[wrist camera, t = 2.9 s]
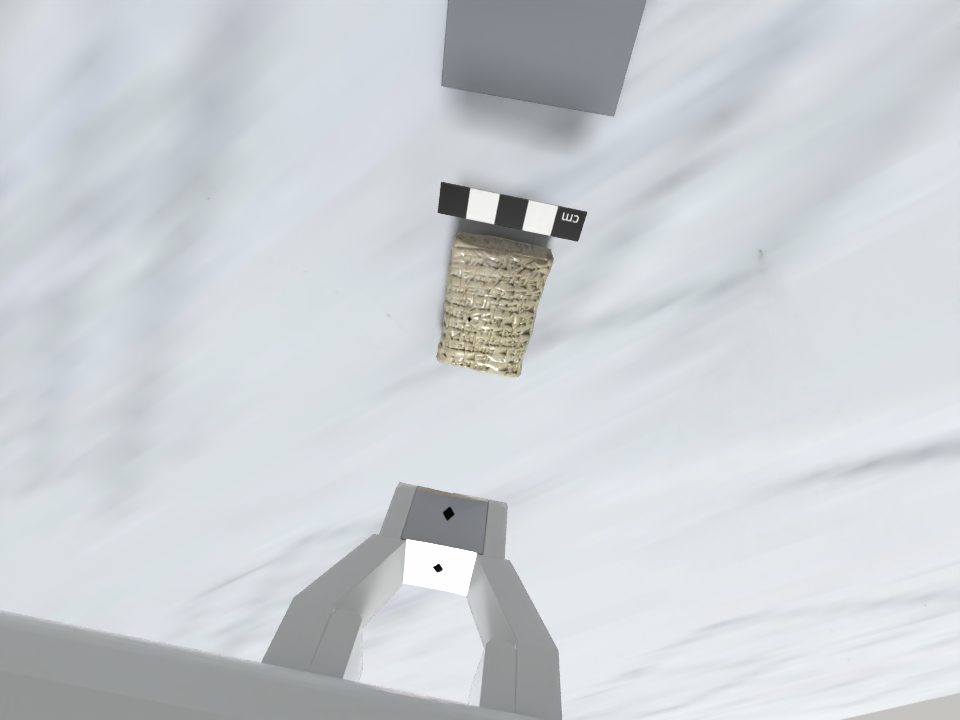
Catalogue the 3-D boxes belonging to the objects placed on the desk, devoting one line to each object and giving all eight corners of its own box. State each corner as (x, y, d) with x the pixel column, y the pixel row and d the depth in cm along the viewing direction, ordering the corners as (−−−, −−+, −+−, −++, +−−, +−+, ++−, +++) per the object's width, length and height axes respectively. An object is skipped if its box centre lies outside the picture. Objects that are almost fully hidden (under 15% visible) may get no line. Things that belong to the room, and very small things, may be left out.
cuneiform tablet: (587, 212, 19) (527, 403, 26) (576, 194, 23) (526, 365, 29) (441, 181, 19) (418, 381, 25) (454, 169, 23) (431, 346, 29)
